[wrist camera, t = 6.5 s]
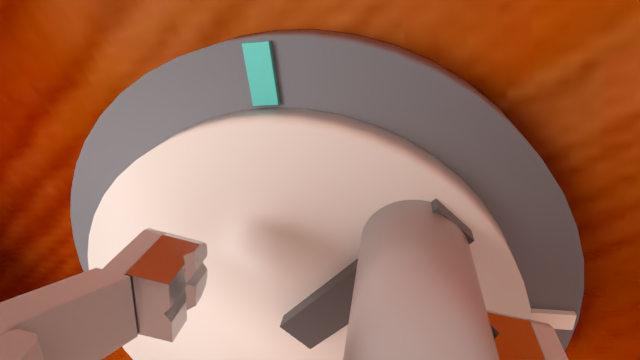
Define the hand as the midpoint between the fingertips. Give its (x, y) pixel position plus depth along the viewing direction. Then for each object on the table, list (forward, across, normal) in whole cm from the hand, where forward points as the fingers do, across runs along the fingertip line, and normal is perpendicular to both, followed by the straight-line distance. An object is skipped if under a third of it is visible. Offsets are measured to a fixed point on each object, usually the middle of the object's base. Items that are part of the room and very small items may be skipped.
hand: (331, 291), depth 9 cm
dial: (+4, +1, +5) cm, 6 cm away
